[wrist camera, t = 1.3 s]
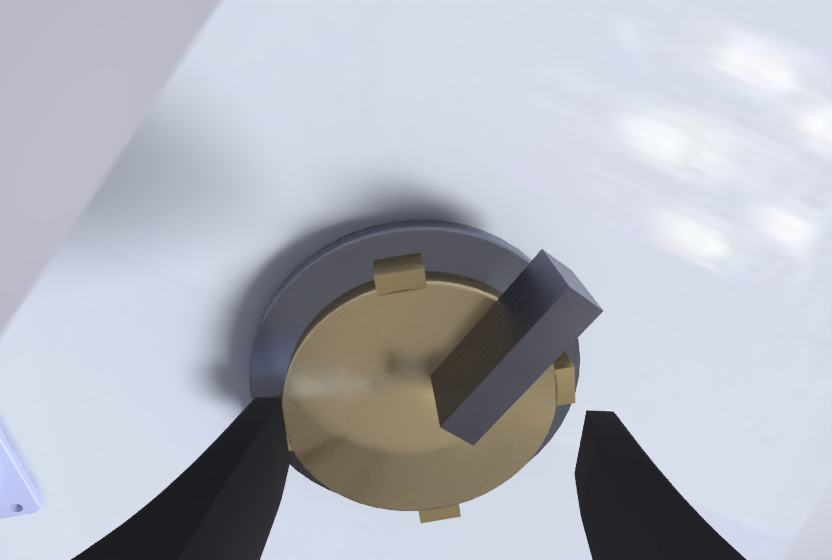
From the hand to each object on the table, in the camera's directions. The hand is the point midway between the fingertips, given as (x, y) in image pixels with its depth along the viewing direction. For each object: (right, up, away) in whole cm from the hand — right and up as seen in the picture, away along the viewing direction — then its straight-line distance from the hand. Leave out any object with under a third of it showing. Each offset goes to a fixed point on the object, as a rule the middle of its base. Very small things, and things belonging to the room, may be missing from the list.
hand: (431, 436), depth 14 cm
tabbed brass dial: (0, -1, +11) cm, 11 cm away
